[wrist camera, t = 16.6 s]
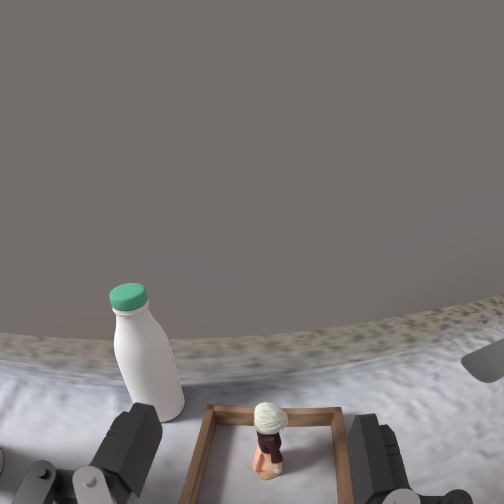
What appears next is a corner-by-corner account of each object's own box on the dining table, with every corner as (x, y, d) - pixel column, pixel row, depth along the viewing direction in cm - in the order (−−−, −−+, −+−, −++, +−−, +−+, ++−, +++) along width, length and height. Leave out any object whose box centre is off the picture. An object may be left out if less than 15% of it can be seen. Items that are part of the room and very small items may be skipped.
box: (183, 518, 21) (176, 511, 20) (210, 417, 37) (207, 404, 36) (348, 524, 19) (354, 517, 18) (337, 419, 35) (341, 406, 34)
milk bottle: (195, 409, 39) (169, 290, 32) (151, 431, 34) (106, 313, 27) (169, 382, 44) (143, 271, 37) (129, 400, 39) (90, 288, 33)
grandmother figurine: (242, 451, 31) (234, 388, 27) (270, 442, 33) (270, 378, 28) (265, 496, 25) (264, 445, 20) (295, 485, 26) (306, 430, 22)
